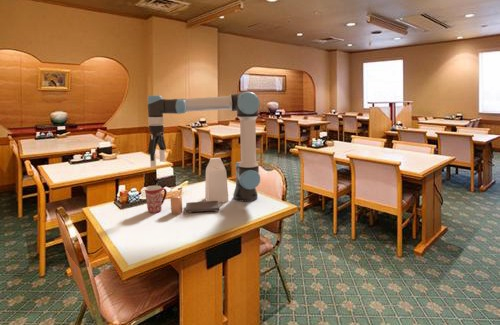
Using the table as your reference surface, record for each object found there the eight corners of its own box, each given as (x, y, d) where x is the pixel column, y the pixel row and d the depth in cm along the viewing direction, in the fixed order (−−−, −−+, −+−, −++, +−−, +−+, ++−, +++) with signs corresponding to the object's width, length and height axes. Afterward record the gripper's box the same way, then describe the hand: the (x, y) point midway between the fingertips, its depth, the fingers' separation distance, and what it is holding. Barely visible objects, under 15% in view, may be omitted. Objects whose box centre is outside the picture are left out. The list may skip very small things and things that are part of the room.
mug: (151, 215, 174) (149, 191, 172) (143, 211, 180) (141, 187, 178) (171, 209, 183) (170, 186, 181) (163, 205, 189) (161, 183, 187)
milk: (223, 195, 207) (222, 155, 202) (228, 201, 196) (227, 159, 191) (205, 197, 203) (203, 157, 198) (208, 203, 193) (207, 160, 187)
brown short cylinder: (182, 210, 181) (181, 195, 179) (182, 214, 175) (181, 198, 174) (171, 211, 180) (170, 195, 178) (171, 215, 174) (170, 199, 173)
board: (217, 204, 190) (217, 200, 190) (219, 211, 179) (219, 207, 178) (186, 206, 187) (186, 202, 187) (186, 213, 176) (185, 209, 175)
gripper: (157, 122, 185) (159, 159, 189) (139, 126, 160) (142, 168, 165) (170, 123, 184) (172, 159, 188) (154, 127, 160) (156, 169, 164)
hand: (158, 163), depth 177 cm, fingers open, 13 cm apart
